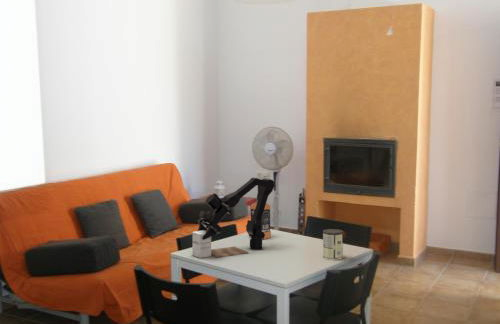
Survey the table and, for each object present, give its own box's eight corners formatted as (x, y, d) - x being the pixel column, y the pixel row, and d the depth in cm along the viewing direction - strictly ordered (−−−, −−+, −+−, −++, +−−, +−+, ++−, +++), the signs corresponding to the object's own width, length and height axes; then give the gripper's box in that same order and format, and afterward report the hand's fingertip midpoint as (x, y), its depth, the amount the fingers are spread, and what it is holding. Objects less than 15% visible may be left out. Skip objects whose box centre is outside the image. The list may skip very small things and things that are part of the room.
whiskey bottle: (261, 235, 334) (261, 183, 332) (272, 237, 326) (272, 185, 324) (248, 237, 327) (248, 184, 325) (259, 240, 320) (259, 186, 317)
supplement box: (192, 255, 283) (191, 231, 282) (204, 253, 288) (204, 229, 287) (199, 258, 277) (199, 234, 276) (211, 256, 282) (211, 232, 281)
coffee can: (327, 254, 288) (327, 228, 287) (345, 256, 283) (346, 230, 282) (319, 258, 279) (319, 231, 278) (338, 261, 274) (338, 233, 273)
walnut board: (234, 247, 302) (234, 246, 301) (248, 253, 289) (248, 252, 289) (204, 251, 292) (204, 250, 292) (216, 257, 279) (216, 256, 279)
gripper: (200, 202, 290) (181, 225, 286) (216, 207, 275) (197, 231, 270) (213, 216, 295) (195, 238, 290) (230, 221, 279) (211, 245, 274)
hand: (199, 237), depth 281 cm, fingers closed on supplement box, 7 cm apart
